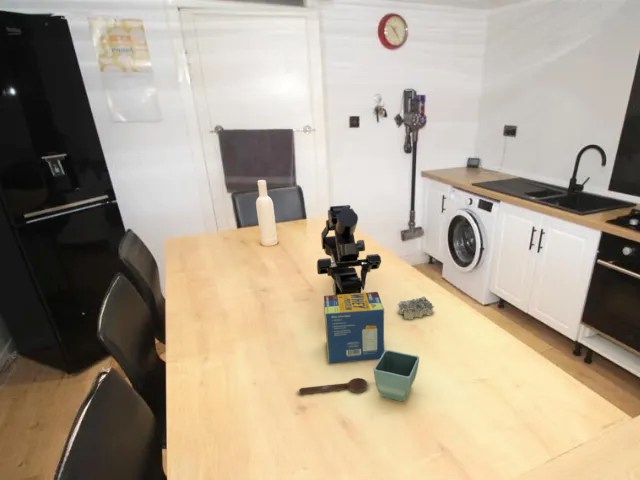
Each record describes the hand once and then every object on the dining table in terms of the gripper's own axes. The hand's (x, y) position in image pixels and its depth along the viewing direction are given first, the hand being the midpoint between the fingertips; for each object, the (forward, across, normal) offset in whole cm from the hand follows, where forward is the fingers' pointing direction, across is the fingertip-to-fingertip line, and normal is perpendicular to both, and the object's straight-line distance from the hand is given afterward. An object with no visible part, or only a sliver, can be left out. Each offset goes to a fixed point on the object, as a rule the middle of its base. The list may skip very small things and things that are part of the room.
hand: (352, 291), depth 119 cm
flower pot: (+32, +5, -13) cm, 34 cm away
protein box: (+17, -2, +2) cm, 17 cm away
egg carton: (+5, +22, +14) cm, 26 cm away
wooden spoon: (+28, -9, -9) cm, 31 cm away
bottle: (-53, -26, +74) cm, 95 cm away
